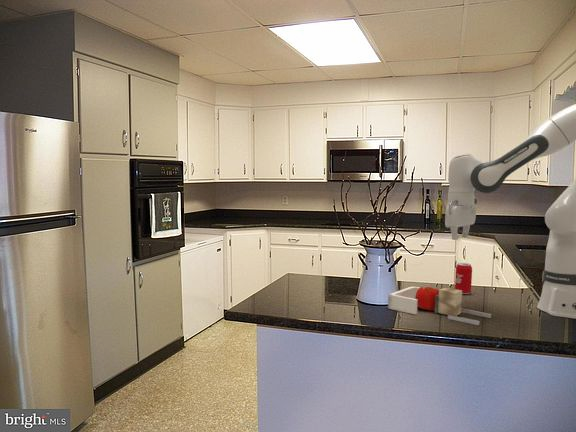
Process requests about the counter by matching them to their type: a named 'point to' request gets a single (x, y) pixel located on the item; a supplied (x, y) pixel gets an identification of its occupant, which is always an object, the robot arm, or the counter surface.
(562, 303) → the robot arm
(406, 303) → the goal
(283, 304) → the counter surface
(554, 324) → the counter surface
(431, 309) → the tomato
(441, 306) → the beige block
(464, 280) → the beverage can
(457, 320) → the track
